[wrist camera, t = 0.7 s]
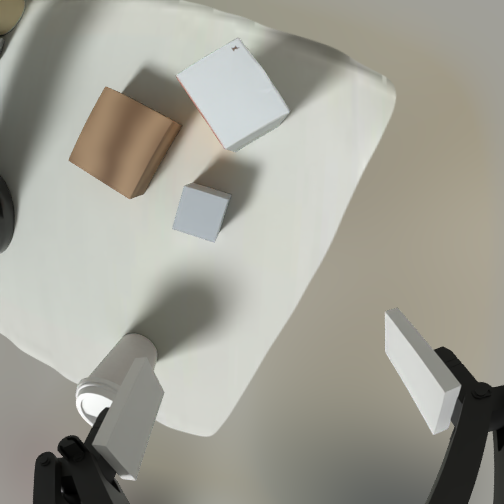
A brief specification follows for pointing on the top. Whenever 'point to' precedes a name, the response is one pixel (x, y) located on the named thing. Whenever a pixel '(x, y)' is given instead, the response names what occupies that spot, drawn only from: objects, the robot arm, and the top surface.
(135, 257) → the top surface
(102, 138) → the walnut block
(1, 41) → the graphics card
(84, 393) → the coffee cup
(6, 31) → the coffee cup
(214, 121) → the small box
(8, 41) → the top surface
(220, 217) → the grey cube
